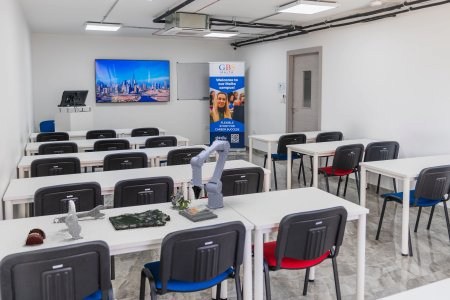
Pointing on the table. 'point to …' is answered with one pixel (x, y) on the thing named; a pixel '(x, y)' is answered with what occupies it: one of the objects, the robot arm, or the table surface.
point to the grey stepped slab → (198, 215)
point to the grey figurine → (73, 222)
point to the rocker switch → (197, 209)
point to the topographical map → (139, 220)
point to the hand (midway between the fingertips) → (197, 197)
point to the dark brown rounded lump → (35, 237)
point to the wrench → (86, 214)
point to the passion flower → (178, 198)
